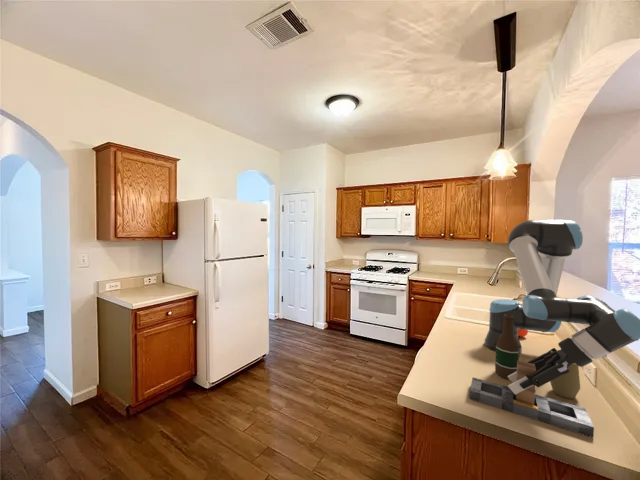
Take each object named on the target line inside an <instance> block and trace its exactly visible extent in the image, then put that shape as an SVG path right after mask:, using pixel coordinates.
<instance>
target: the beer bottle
mask: <svg viewBox="0 0 640 480" xmlns="http://www.w3.org/2000/svg"><path fill="white" fill-rule="evenodd" d="M503 318H504V322H503V331H502V334H501V335H500V336H499V338H498V340H497V343H496V351H495V362H494V363H495V364H494V365H495V366H494V369H495V374H496V375H497V376H498V377H499V378H502V379H505V380H509V381H511V380H510V379H509V378H508V376H509V375H511V374H513V373H514V372H516V371H517V360H518V361H520V360H519V356H520V354H519V344H518V341H517V339H516V338H515V336H514V325H513V319H514V316H512V315H509V314H504V316H503Z"/></svg>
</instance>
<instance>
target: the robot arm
mask: <svg viewBox="0 0 640 480" xmlns="http://www.w3.org/2000/svg"><path fill="white" fill-rule="evenodd" d="M507 238H508V239H507V245H508V248H509V250H510V252H512V253H514V257H515V259H516V263H517V266H518V270H519V272H520V276H521V278H522V282H523V284H524V288H525V291H526V294H527V295H525V296H523V298H522V304H521V303H520V302H519V301H518V300H515V299H508V298H507V299H503V298H502V299H501V298H500V299H495V300H492V301H491V302H490V306H489V323H488V325H489V326H488V331H487V334H486V335H485V338H484V346H485V347H486V348H488V349H490V350H492V351H495V352H496V343H497V340H498V338H499V336H500V335H501V334H502V331H503V322H504V318H503V316H504V314H509V315H512V316H514V319H513V325H514V336H515V338H516V339H517V341H518V344H519V355H520V354H522V351H523V349H522V344H521V340H520V338H519V336H518V329H525V330H528V331H533V332H534V331H535V332H541V333H555V332H557V331H558V330H559V329H560V327H561V325H562V322H564V323H571V324H581V325H587V327H585V328H583V329H581V330H579V331H577V332H575V333H574V334H571V338H570V337H567V338H564V339H563V340H561V341H559V342H558V347H559V349H556V348H555V347H554V348H551V349H550V350H548V351H547V352H545V353H543V354H541V355H539V356H536V357H534V358H533V359H531V360H529V361H526V362H527V363H531V364H535V368H536V372H534V373H533V374H532V375H530V376H528V375H527V374H526V376H525V377H523V378H521V379H519V380H518V381H516V380H517V371H516V372H514V373H513V374H511V375H509V376H508V378H509V379H510V380H509V381H510V382H512V383H509V384H508V385H507V387H509V388H510V389H511V390H512V391H513V393H514V394H517V393H519V392H521V391H523V390H525V389H527V388H529V387H531V386H533V385H535V388H536V387H537V388H540V387H542V386H544V385H546V384H547V383H550V381H551V380H553V379H555V378H557V377H559V376H561V375H563V374H566V373H569V370H568V369H567V368H568V367H569V366H570V365H571V364H573V363H576V364H577V365H578V367H580V368H582V367H585V366H587V365H588V364H590V363H593V361H594V360H596V361H597V360H598V359H601V358H603V357H604V358H608V355H609V354H610V353H613V352H615V351H617V350H620V349H621V348H624V347H626V346H628V345H631V344H633V343H634V342H637V341H639V340H640V318H639V317H638V316H636V315H635V314H634V313H633V312H631V311H630V310H628V309H626V308H620V309H617V310H615V309H613V308H612V307H611V306H610V305H608V304H607V302H605V301H603V300H601V299H599V298H598V297H595V296H594V295H593V296H592V295H584V296H579V297H577V298H566V297H558V296H557V295H558V291H559V285H560V282H561V277H562V274H563V269H564V265H565V262H566V258H569V257H570V256H572V255H573V254H572V253H573V250H579V249H580V248H581V247H582V245H583V238H584V237H583V232H582V229H581V227H580V224H578V222H577V221H575V220H574V221H573V220H567V219H555V220H554V219H547V220H546V219H545V220H543V219H542V220H541V219H540V220H538V219H537V220H535V219H531V220H530V219H529V220H525V221H522V222H520V223H519V224H517V225H515V226H514V227H513V228H512V230H511V231H510V233H509V234H508V237H507Z"/></svg>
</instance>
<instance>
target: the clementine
mask: <svg viewBox="0 0 640 480" xmlns="http://www.w3.org/2000/svg"><path fill="white" fill-rule="evenodd" d="M528 332H529V330H525V329H518V337H519V336H520V338H524V337H526V336H527V335H528Z"/></svg>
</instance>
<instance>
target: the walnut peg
mask: <svg viewBox="0 0 640 480" xmlns="http://www.w3.org/2000/svg"><path fill="white" fill-rule="evenodd" d="M527 362H528V361H523V360H522V361H521V360H519V361H518V360H517V380H516V381H518V380H519V379H521V378H523V377H525V376H526V374H527V375H528V376H530V375H532V374H533V373H534V372H536V368H535V364H531V363H527ZM535 394H536V386H535V385H533V386H531V387H529V388H527V389H525V390H523V391H521V392H519V393H517V394H516V400H517V401H520V402H524V403H527V404H530V405H534V403H535Z"/></svg>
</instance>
